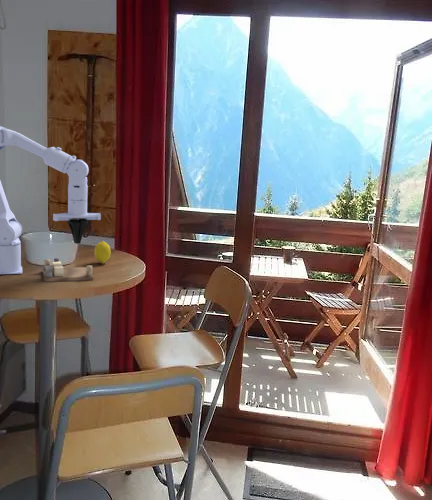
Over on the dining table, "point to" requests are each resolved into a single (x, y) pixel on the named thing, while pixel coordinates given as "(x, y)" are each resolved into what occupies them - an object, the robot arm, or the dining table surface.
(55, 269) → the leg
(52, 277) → the board
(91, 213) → the robot arm
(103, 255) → the lemon
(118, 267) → the dining table surface
